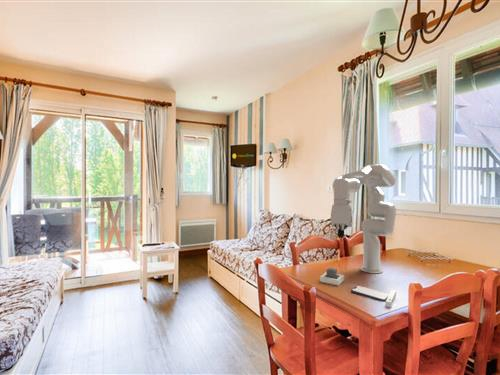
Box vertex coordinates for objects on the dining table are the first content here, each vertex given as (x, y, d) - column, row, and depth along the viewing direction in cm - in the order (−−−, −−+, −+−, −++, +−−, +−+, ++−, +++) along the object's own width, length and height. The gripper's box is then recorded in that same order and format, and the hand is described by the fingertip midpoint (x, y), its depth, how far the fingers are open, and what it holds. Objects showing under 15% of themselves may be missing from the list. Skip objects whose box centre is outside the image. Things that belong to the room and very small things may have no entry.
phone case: (391, 297, 130) (357, 288, 141) (391, 294, 130) (357, 285, 141) (384, 303, 123) (350, 293, 135) (384, 300, 123) (350, 289, 135)
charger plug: (336, 279, 150) (336, 266, 150) (334, 282, 147) (334, 268, 147) (329, 278, 153) (329, 265, 152) (326, 280, 149) (326, 267, 149)
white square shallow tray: (326, 277, 156) (326, 271, 156) (344, 280, 151) (344, 275, 151) (319, 282, 148) (319, 276, 148) (338, 286, 142) (338, 280, 142)
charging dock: (391, 294, 132) (391, 288, 132) (396, 295, 131) (396, 289, 131) (385, 306, 119) (385, 300, 119) (391, 307, 118) (391, 301, 118)
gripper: (358, 202, 142) (357, 238, 142) (329, 201, 151) (329, 234, 151) (354, 203, 136) (354, 240, 136) (324, 202, 144) (324, 237, 145)
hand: (341, 237), depth 143 cm, fingers closed
